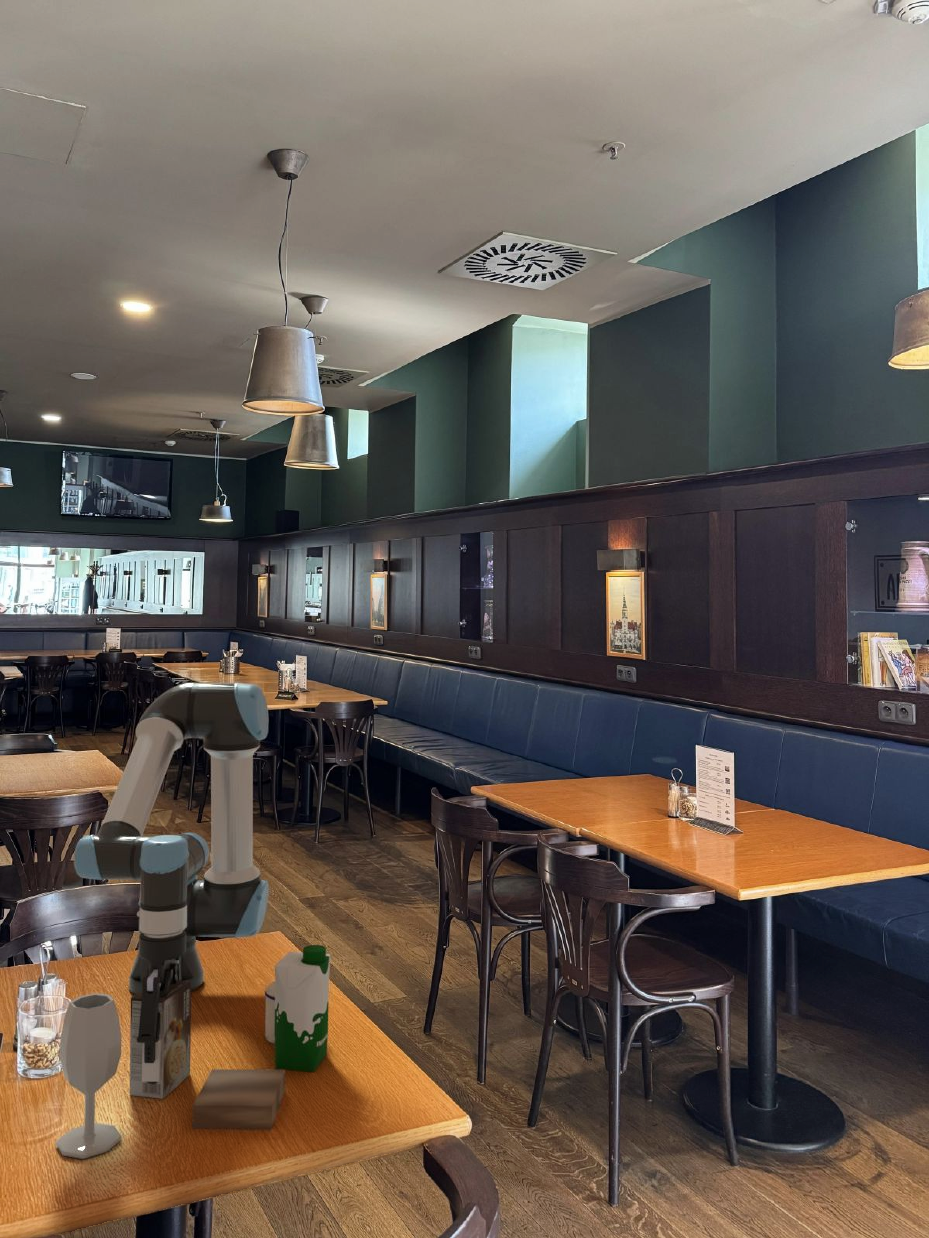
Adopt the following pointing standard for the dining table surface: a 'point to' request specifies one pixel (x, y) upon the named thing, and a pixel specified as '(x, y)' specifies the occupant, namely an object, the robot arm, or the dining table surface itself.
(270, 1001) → the teacup with lid
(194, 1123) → the brown flat block
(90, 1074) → the wineglass
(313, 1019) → the milk carton
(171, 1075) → the coffee box
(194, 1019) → the dining table surface
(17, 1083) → the dining table surface
